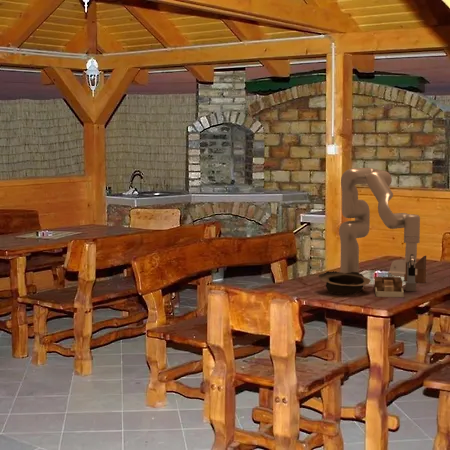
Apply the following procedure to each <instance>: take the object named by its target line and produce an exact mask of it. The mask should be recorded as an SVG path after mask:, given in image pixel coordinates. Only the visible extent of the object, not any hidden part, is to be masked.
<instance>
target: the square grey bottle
mask: <svg viewBox="0 0 450 450" xmlns="http://www.w3.org/2000/svg"><path fill="white" fill-rule="evenodd" d="M408 268H409V262H407V281H405V289H404V290H405V292H417V282H415V276H409V275H408Z"/></svg>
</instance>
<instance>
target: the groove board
mask: <svg viewBox="0 0 450 450" xmlns="http://www.w3.org/2000/svg"><path fill="white" fill-rule="evenodd" d="M384 280H393V287H394V288H393V292H401V288H403V280H402V277H399V276H374V289H375V287H377V291H384Z"/></svg>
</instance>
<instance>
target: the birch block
mask: <svg viewBox="0 0 450 450" xmlns="http://www.w3.org/2000/svg"><path fill="white" fill-rule="evenodd" d="M393 288H394V287H393V286H391V285H385V292H393Z"/></svg>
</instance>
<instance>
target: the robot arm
mask: <svg viewBox="0 0 450 450" xmlns="http://www.w3.org/2000/svg"><path fill="white" fill-rule="evenodd" d="M392 180H393V179H392V176H391V174H390V172H388V171H387V170H382V169H378V168H373V167H354V168H353V167H352V168H349V169H346V170H345V171H344V172H343V173H342V175H341V177H340V187H341V213H342V216H343V217H344V218H345V219H354V220H346V221H344V222H342V223H341V224H340V225H339V228H338V235H339V239H340V271H339V272H340V273H351V272H358V273H360V272H359V271H360V270H359V269H360V263H359V262H360V258H359V257H360V246H359V243H358V240H357V239H361V238H365V237H367V236H368V235H369V232H370V222H371V221H370V217H371V216H370V213H371V211H370V205H369V203H368V202H366V201H365V200H364V199H359V191H358V187H357V186H356V185H367V186H368V187H369V189H370V191H371V192H372V194H373V195H374V197H375V200H376V201H377V212H378V215H379V218H380V220H381V221H382V222H383V225H385V227H386V228H388V229H390V230H391V229H392V230H396V229H403V243H405V250H404V251H405V253H404V254H405V255H404V260H405V262H406V263H407V262H409V268H408V275H409V276H415V263H417V259H418V258H417V256H418V255H417V254H418V244H420V240H421V239H420V237H421V236H420V233H421V217H420V216H419V214H410V213H406V212H397V213H395V212H394V213H393V210H391V208H390V205H389V202H390V201H391V199H392V198H394V193H393V191H392V190H391V188H390V187H389V186H391V185H392V184H391V183H392V182H393V181H392Z"/></svg>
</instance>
